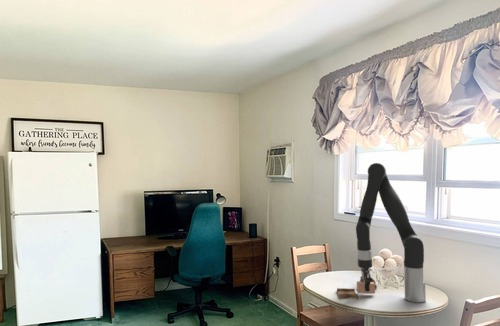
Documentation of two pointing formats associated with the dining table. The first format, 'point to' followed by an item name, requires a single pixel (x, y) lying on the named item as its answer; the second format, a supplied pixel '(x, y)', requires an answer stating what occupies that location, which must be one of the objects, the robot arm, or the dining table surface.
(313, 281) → the dining table surface
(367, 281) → the dark brown rounded lump
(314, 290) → the dining table surface
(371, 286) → the light brown block
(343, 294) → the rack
